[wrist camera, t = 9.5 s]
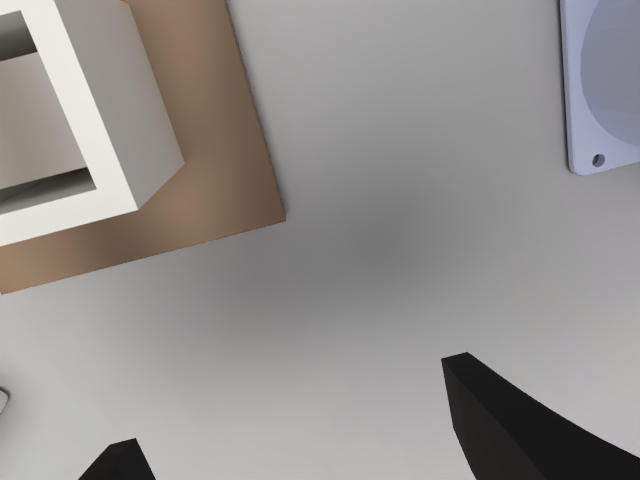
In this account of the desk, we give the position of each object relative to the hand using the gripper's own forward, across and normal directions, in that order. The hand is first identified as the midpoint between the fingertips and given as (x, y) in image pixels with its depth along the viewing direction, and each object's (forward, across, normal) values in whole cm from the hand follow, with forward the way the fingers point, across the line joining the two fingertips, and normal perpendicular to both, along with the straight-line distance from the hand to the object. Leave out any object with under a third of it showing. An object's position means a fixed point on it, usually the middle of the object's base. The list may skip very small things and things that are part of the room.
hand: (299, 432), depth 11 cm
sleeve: (+8, +5, -8) cm, 13 cm away
